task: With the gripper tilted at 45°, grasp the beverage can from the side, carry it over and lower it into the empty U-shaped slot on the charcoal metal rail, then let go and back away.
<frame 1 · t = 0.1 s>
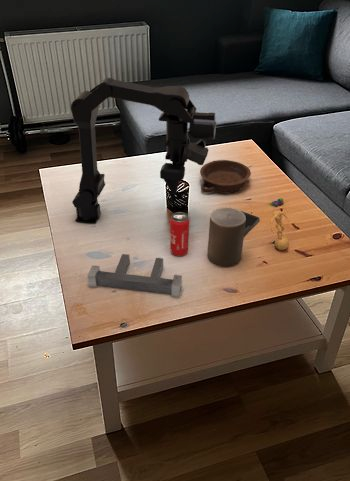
hand: (177, 185, 139), 15 cm above the table, tool pointing down, fingers open, 9 cm apart
pillar candle: (224, 256, 137), on the table
phone: (238, 228, 148), on the table
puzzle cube: (277, 206, 159), on the table
rail dock: (139, 274, 130), on the table
dish: (224, 184, 170), on the table
figurine: (277, 247, 140), on the table
beverage can: (179, 251, 138), on the table
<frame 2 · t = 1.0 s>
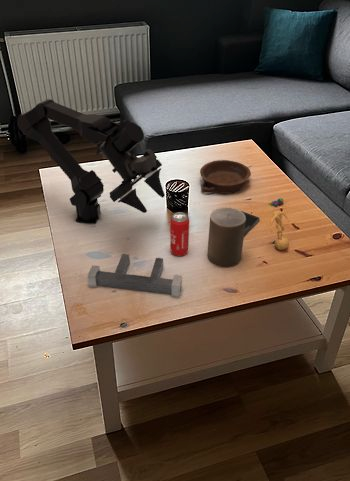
hand: (154, 204, 134), 13 cm above the table, tool tilted 45°, fingers open, 9 cm apart
nothing on the table moved.
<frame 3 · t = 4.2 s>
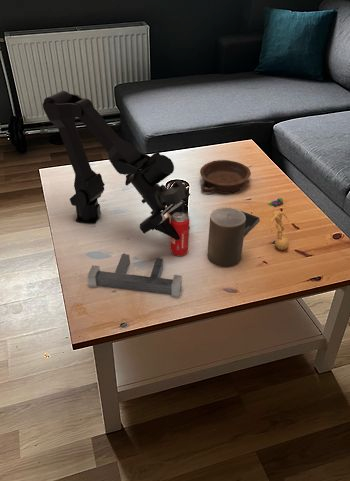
hand: (183, 234, 134), 7 cm above the table, tool tilted 45°, fingers closed on beverage can, 5 cm apart
beverage can: (179, 251, 138), on the table, touching gripper
everything else where it was.
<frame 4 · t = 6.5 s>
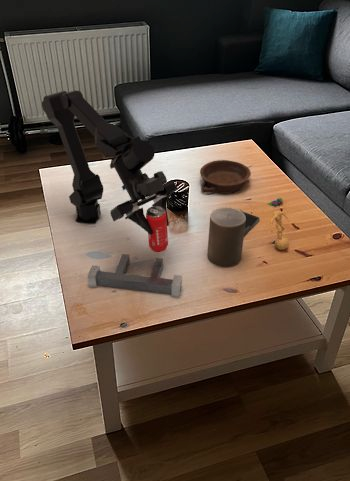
hand: (159, 229, 124), 13 cm above the table, tool tilted 45°, fingers closed on beverage can, 5 cm apart
beverage can: (158, 247, 129), point 6 cm above the table, touching gripper
everything else where it was.
when the fingers open (8 cm above the table, at t = 9.1 s): beverage can stays where it is, resting in rail dock.
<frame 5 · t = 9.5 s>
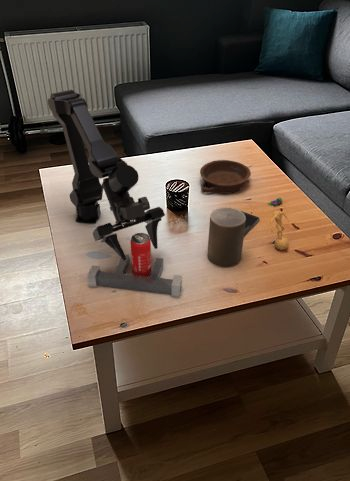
hand: (140, 254, 124), 8 cm above the table, tool tilted 45°, fingers open, 9 cm apart
beverage can: (142, 273, 131), resting in rail dock
everything else where it was.
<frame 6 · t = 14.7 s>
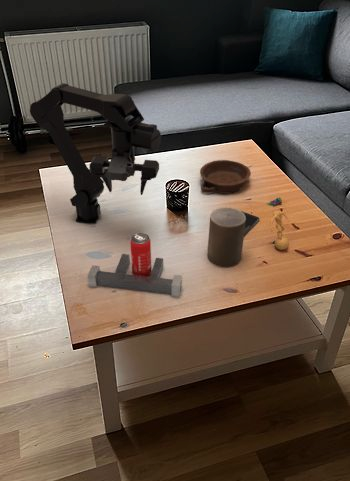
hand: (126, 192, 139), 13 cm above the table, tool pointing down, fingers open, 9 cm apart
nothing on the table moved.
at the end: beverage can 0.9 cm off-centre on the rail dock, point 0.0 cm above the rail dock's base; beverage can tilted 0°; the gripper is holding nothing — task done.
